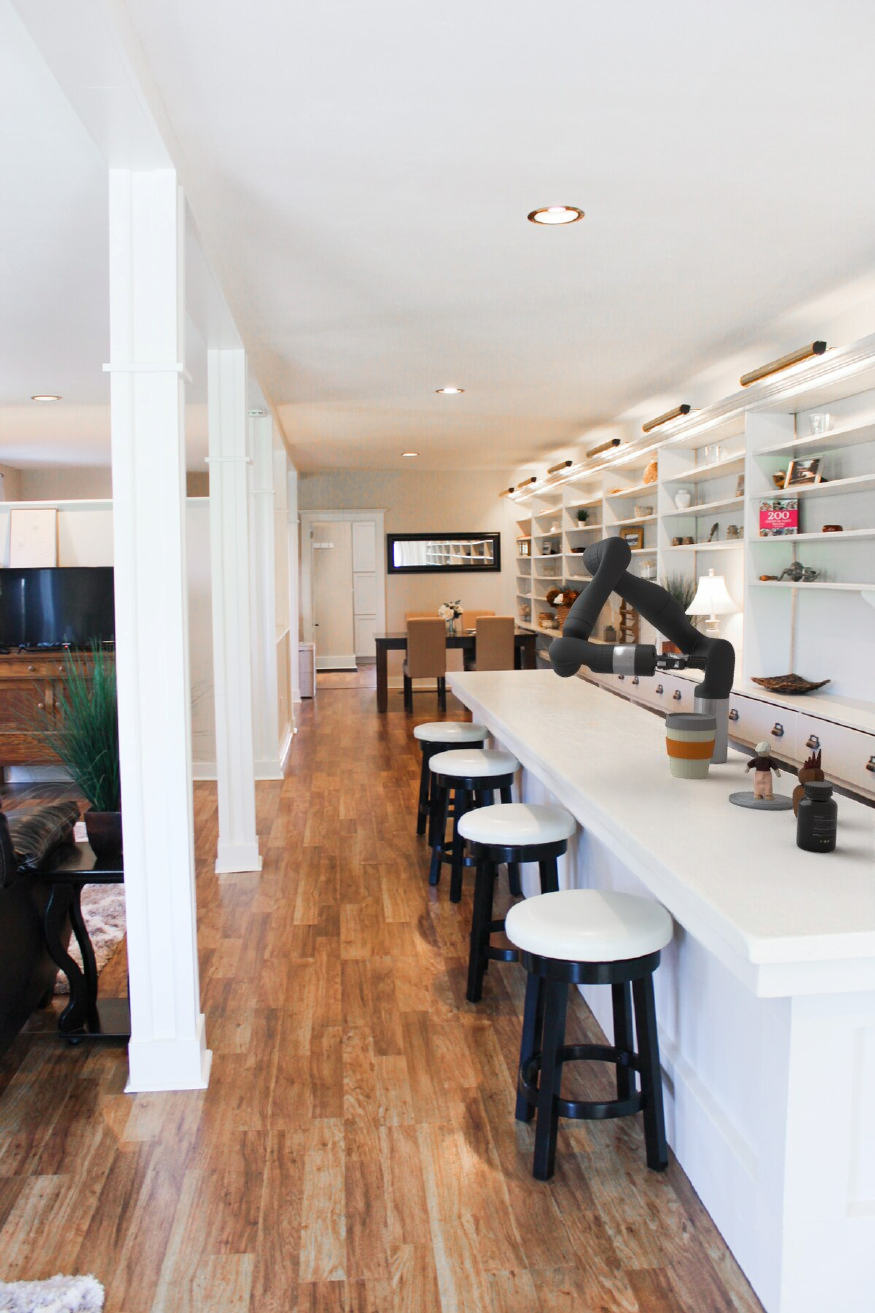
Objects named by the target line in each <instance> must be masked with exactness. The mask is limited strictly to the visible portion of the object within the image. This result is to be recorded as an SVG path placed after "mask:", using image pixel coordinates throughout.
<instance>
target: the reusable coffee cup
mask: <svg viewBox="0 0 875 1313" xmlns="http://www.w3.org/2000/svg"><path fill="white" fill-rule="evenodd" d="M665 716H666V718H665V722H664V723H665V724H664V727H666V736H665V744H666V753H667V754H666V755H668V758H669V768H670V775H671V776H672V777H675V778H679V777H681V778H680V779H685V778H687V779H686V780H702V778H703V779H707V778H708V777H709V769H710V765H711V763H710V759H711V758H712V757H713V752H714V746H715V739H714V735H715V729H717V723H716V716H713V715H709V714H702V713H694V712H671V713H667V714H666V715H665ZM706 777H707V778H706Z"/></svg>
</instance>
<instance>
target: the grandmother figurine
mask: <svg viewBox="0 0 875 1313" xmlns="http://www.w3.org/2000/svg"><path fill="white" fill-rule="evenodd" d="M754 751H755V752H756V753H757V754H758V756H759V757H758V756H757V757H754V758H752V759H750V760H749V761H748V762H747V763H746V766H745V768H744V770H743V772H744V773H745V774H749V773H750V770H751V769H755V770H754V776H753V778H754V779H753V787H754V788H753V792H754V794H755V795H754V798H755V799H762V798H763V796H762V795H766V797H765V800H774V799H775V797H774V796H773V773H772V771H774V774H775V777H776V778H781V777H782V774H781V773H780V772H781V771H780V768H779V766H778V764H777V763H776V762H775V761H774V759H772V758H770V757H769V756H770V753H771V752H772V745H771V743H770V742H769V741H764V740H763V741H760V742H759V743H758V744H757V745H756V746H755V750H754ZM771 769H772V771H771Z"/></svg>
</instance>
